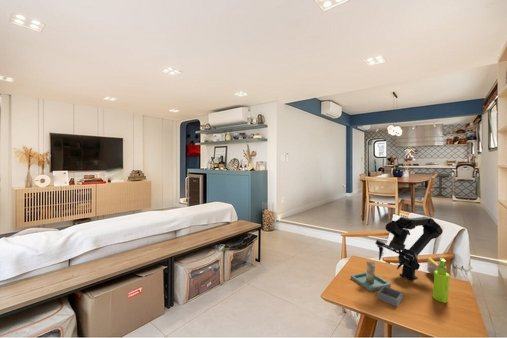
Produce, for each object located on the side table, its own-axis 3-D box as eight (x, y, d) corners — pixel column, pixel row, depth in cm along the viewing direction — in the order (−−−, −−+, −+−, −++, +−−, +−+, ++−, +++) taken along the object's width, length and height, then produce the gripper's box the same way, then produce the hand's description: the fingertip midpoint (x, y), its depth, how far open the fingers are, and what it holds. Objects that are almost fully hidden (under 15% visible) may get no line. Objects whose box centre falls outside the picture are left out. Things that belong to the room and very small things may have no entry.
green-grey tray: (369, 274, 140) (369, 271, 140) (390, 287, 127) (390, 283, 127) (350, 279, 135) (350, 275, 135) (370, 292, 122) (370, 288, 122)
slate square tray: (383, 293, 122) (383, 285, 122) (402, 300, 116) (403, 292, 116) (377, 300, 116) (377, 292, 116) (397, 308, 110) (397, 300, 110)
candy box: (426, 270, 146) (427, 257, 145) (430, 271, 146) (431, 257, 145) (441, 285, 130) (442, 270, 130) (445, 285, 130) (446, 270, 129)
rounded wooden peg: (372, 280, 133) (373, 261, 132) (375, 284, 129) (376, 264, 128) (364, 279, 133) (365, 260, 133) (367, 283, 129) (368, 263, 129)
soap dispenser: (443, 295, 120) (446, 257, 119) (450, 303, 114) (452, 263, 113) (430, 293, 122) (432, 255, 121) (435, 301, 116) (438, 261, 114)
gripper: (379, 228, 133) (368, 254, 131) (418, 244, 121) (406, 273, 119) (382, 232, 142) (371, 256, 140) (418, 247, 130) (407, 274, 128)
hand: (388, 264), depth 131 cm, fingers open, 9 cm apart
